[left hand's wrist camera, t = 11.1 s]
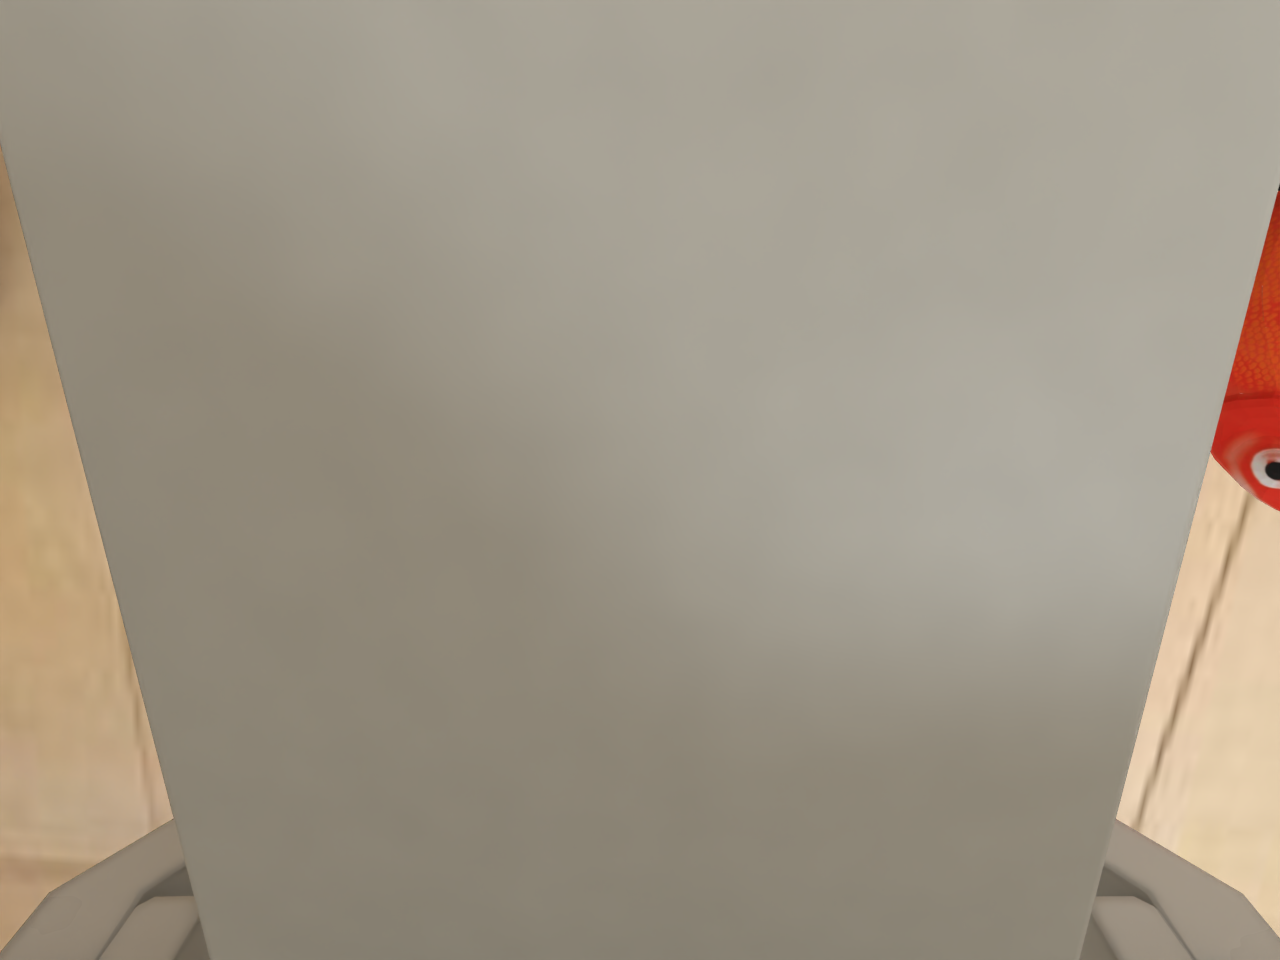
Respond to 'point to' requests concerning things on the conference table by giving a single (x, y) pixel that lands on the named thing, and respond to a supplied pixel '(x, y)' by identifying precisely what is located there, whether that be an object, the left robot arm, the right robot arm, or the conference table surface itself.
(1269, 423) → the fish
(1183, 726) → the conference table surface
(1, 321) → the conference table surface
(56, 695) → the conference table surface
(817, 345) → the bar
